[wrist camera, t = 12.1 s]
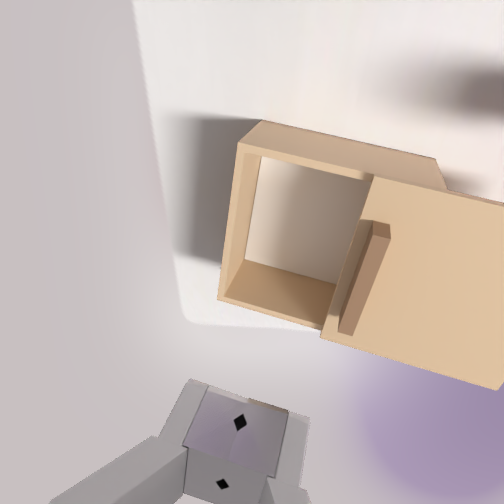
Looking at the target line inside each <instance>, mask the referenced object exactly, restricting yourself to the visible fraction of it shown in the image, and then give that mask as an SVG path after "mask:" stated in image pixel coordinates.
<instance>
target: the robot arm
mask: <svg viewBox="0 0 504 504" xmlns="http://www.w3.org/2000/svg"><path fill="white" fill-rule="evenodd" d="M309 427H310V419H309V417H306V416H303V415H300V414H296V413H293V412H290V411H289V412H288V410H286V409H282V408H279V407H276V406H273V405H270V404H266V403H263V402H260V401H257V400H254V399H251V398H249V399H248V398H245V397H242V396H239V395H237V394H234V393H231V392H228V391H225V390H222V389H219V388H217V387H214V386H211V385H208V384H205V383H202V382H199V381H196V380H193V379H189V381H188V382H187V383H186V384H185V386H184V388H183V390H182V392H181V394H180V396H179V398H178V400H177V402H176V404H175V405H174V408H173V409H172V411H171V413H170V415H169V417H168V419H167V421H166V423H165V425H164V427H163V429H162V431H161V433H160V435H159V437H155V436H151V437H149V438H148V439H146V440H144V441H143V442H141V443H140V444H138V445H137V446H135V447H133V448H132V449H130V450H129V451H127V452H126V453H124V454H123V455H121V456H119V457H118V458H116V459H115V460H113V461H112V462H110V463H108V464H107V465H106V466H104V467H102V468H101V469H100V470H98V471H96V472H94V473H93V474H91V475H90V476H88V477H87V478H85V479H84V480H82V481H80V482H79V483H77V484H76V485H74V486H73V487H71V488H70V489H68V490H66V491H65V492H64V493H62V494H60V495H59V496H57V497H55V498H54V499H52V500H51V501H50V503H49V504H174V503H175V502H176V501H177V500H178V499H179V498H180V497H181V496H182V495H183V493H184V494H187V495H190V496H193V497H196V498H199V499H202V500H205V501H208V502H211V503H214V504H311V501H310V498H309V496H308V493H307V490H304V489H302V488H300V484H301V478H302V471H303V465H304V459H305V452H306V446H307V440H308V433H309Z"/></svg>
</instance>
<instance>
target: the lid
mask: <svg viewBox="0 0 504 504" xmlns="http://www.w3.org/2000/svg"><path fill="white" fill-rule="evenodd" d="M320 338H322V339H325V340H328V341H332V342H335V343H339V344H342V345H345V346H349V347H352V348H355V349H359V350H362V351H366V352H369V353H372V354H375V355H379V356H382V357H385V358H389V359H392V360H396V361H399V362H402V363H406V364H409V365H412V366H416V367H419V368H422V369H426V370H429V371H433V372H436V373H439V374H443V375H446V376H449V377H453V378H456V379H459V380H463V381H466V382H469V383H473V384H476V385H479V386H483V387H486V388H490V389H493V390H498V389H499V388H500V386H501V385H502V383H503V382H504V203H502V202H498V201H493V200H489V199H485V198H481V197H476V196H472V195H468V194H464V193H459V192H455V191H451V190H446V189H442V188H438V187H434V186H429V185H425V184H421V183H417V182H412V181H408V180H404V179H400V178H395V177H391V176H387V175H383V174H378V173H374V175H373V178H372V181H371V184H370V187H369V190H368V193H367V196H366V199H365V202H364V205H363V208H362V211H361V214H360V217H359V220H358V223H357V226H356V229H355V232H354V235H353V238H352V241H351V244H350V247H349V250H348V253H347V256H346V259H345V262H344V265H343V268H342V271H341V274H340V277H339V280H338V283H337V286H336V289H335V292H334V295H333V298H332V301H331V304H330V307H329V310H328V313H327V316H326V319H325V321H324V324H323V327H322V330H321V334H320Z"/></svg>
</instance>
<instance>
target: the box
mask: <svg viewBox="0 0 504 504" xmlns="http://www.w3.org/2000/svg"><path fill="white" fill-rule="evenodd" d="M374 173H378V174H383V175H387V176H391V177H395V178H400V179H404V180H408V181H412V182H417V183H421V184H425V185H429V186H434V187H438V188H442V189H446V190H448V189H447V186H446V184H445V181H444V179H443V176H442V174H441V172H440V169H439V167H438V164H437V162H436V159H434V158H430V157H426V156H421V155H417V154H412V153H408V152H403V151H399V150H395V149H390V148H386V147H381V146H377V145H372V144H368V143H363V142H359V141H355V140H350V139H346V138H341V137H337V136H332V135H328V134H324V133H319V132H315V131H310V130H306V129H301V128H297V127H293V126H288V125H284V124H279V123H275V122H270V121H266V120H261V121H260V122H259V123H258V124H257V125H256V126H255V127H253V128H252V129H251V130H250V131H249V132H248V133H247V134H246V135H245V136H244V137H243V138H242V139H241V140H240V141H239V142H238V145H237V152H236V160H235V167H234V175H233V182H232V190H231V197H230V205H229V212H228V220H227V227H226V235H225V243H224V250H223V258H222V265H221V273H220V280H219V288H218V295H217V300H219V301H223V302H226V303H230V304H233V305H236V306H240V307H243V308H247V309H250V310H253V311H257V312H260V313H264V314H267V315H270V316H274V317H277V318H280V319H284V320H287V321H291V322H294V323H297V324H301V325H304V326H308V327H311V328H314V329H318V330H322V327H323V324H324V321H325V319H326V316H327V313H328V310H329V307H330V304H331V301H332V298H333V295H334V292H335V289H336V286H337V283H338V280H339V277H340V274H341V271H342V268H343V265H344V262H345V259H346V256H347V253H348V250H349V247H350V244H351V241H352V238H353V235H354V232H355V229H356V226H357V223H358V220H359V217H360V214H361V211H362V208H363V205H364V202H365V199H366V196H367V193H368V190H369V187H370V184H371V181H372V178H373V175H374Z"/></svg>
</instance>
